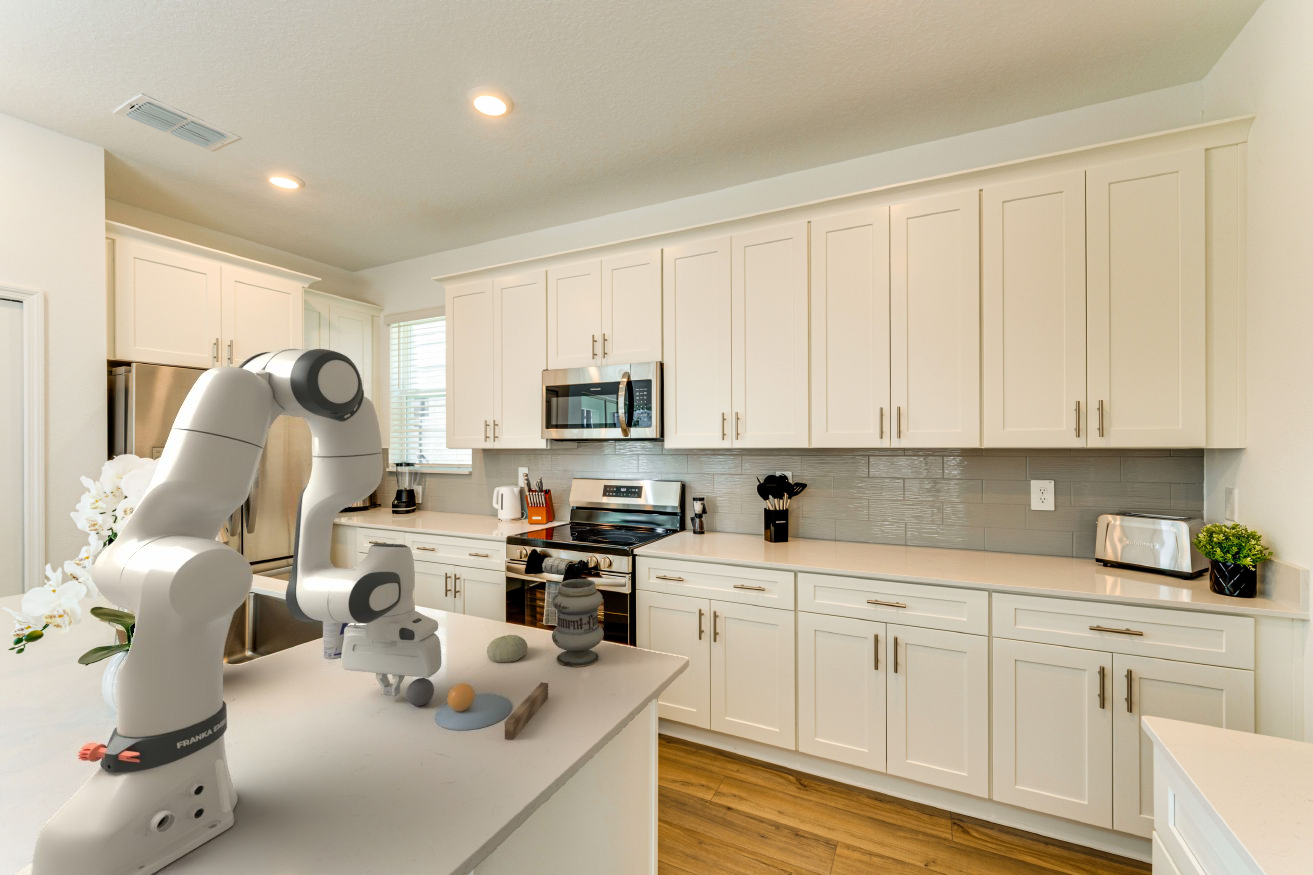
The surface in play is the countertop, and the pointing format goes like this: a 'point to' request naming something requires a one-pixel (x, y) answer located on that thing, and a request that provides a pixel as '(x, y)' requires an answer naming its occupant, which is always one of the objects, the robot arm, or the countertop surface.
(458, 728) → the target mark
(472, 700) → the object ball
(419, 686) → the gray ball
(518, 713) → the wall
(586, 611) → the apothecary jar
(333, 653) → the energy drink
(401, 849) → the countertop surface
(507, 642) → the sea urchin shell
